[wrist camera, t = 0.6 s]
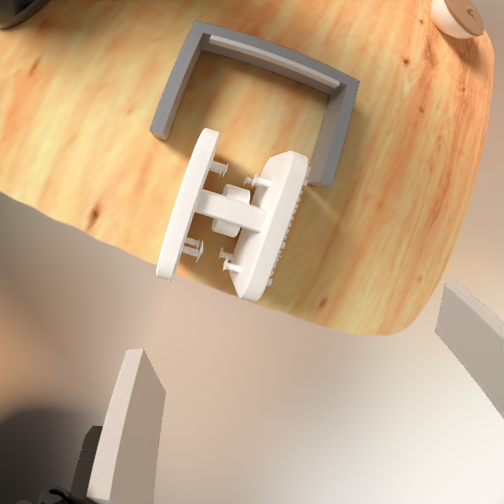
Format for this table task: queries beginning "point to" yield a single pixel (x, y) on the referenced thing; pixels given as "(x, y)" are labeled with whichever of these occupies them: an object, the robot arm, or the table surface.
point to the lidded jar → (457, 18)
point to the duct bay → (276, 61)
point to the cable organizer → (237, 215)
